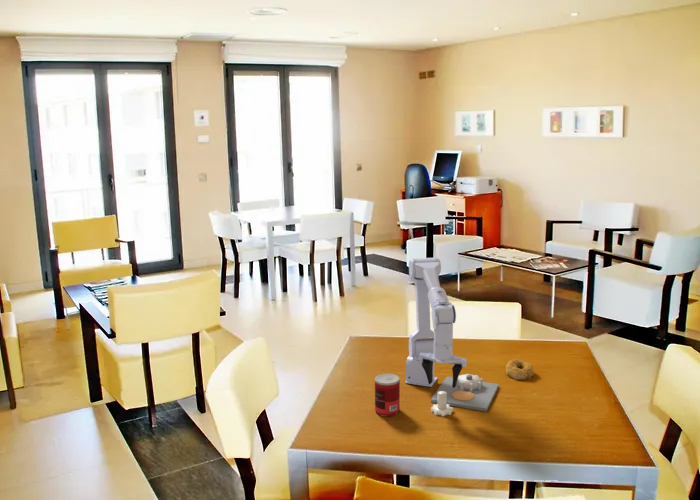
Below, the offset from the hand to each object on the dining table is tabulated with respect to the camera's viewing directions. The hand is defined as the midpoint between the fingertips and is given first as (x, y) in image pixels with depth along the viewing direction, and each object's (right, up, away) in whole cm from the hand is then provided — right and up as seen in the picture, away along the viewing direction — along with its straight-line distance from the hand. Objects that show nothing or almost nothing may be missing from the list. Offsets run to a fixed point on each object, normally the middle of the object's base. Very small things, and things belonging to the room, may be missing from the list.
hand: (442, 384), depth 200 cm
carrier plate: (+10, -6, +14) cm, 18 cm away
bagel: (+32, -3, +30) cm, 44 cm away
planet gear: (0, -9, +2) cm, 9 cm away
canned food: (-17, -9, +3) cm, 19 cm away
